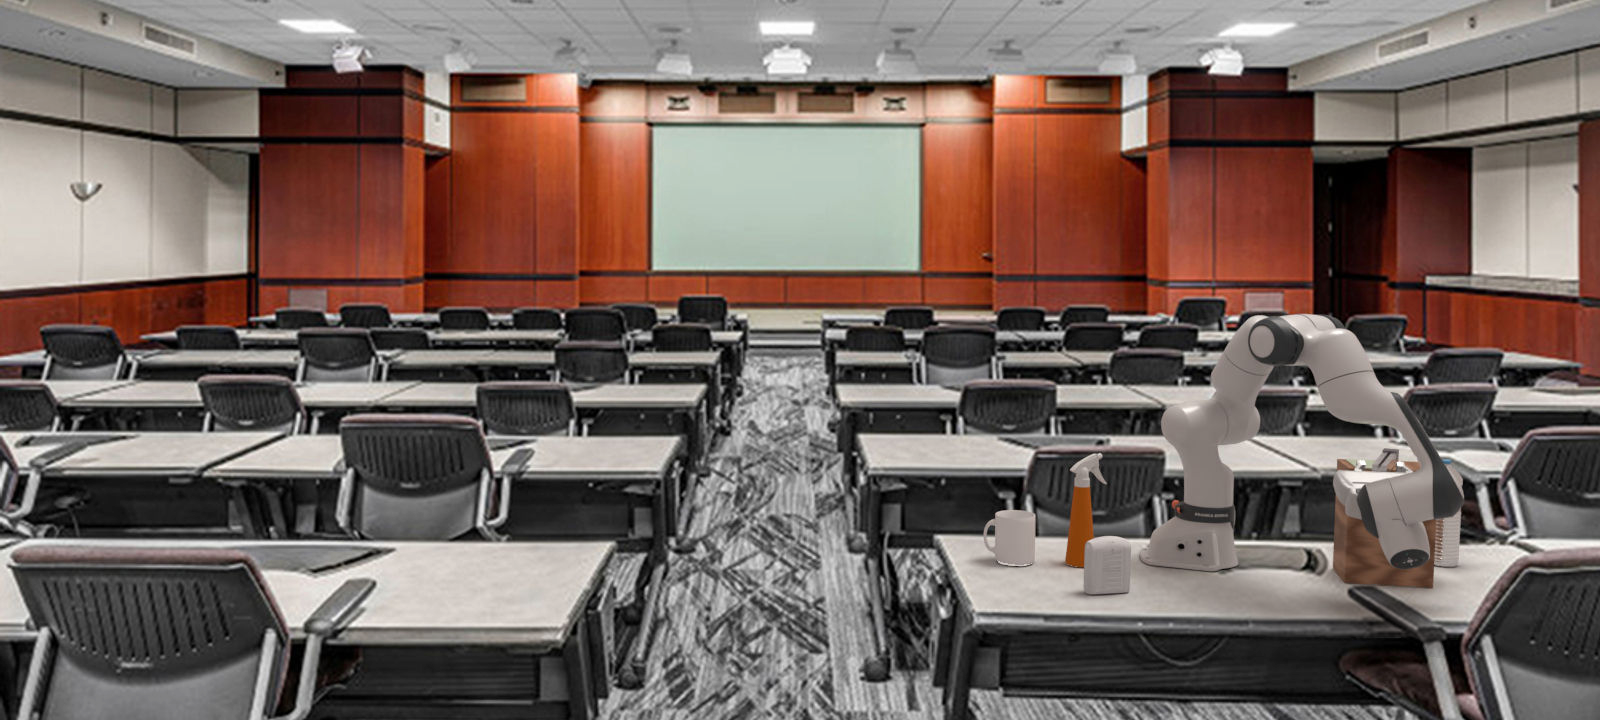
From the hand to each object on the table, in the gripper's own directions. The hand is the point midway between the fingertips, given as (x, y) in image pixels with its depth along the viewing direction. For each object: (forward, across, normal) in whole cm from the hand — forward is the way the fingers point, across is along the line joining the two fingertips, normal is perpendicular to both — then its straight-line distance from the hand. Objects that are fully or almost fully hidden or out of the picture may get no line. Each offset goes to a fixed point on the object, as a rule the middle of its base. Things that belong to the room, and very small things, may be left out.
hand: (1379, 463), depth 247 cm
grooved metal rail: (+4, -3, +4) cm, 6 cm away
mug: (-10, +79, +27) cm, 84 cm away
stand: (-5, -4, +30) cm, 30 cm away
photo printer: (-27, +57, +17) cm, 65 cm away
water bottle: (+8, -21, +38) cm, 44 cm away
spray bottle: (-7, +61, +29) cm, 68 cm away
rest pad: (+7, 0, +7) cm, 10 cm away
